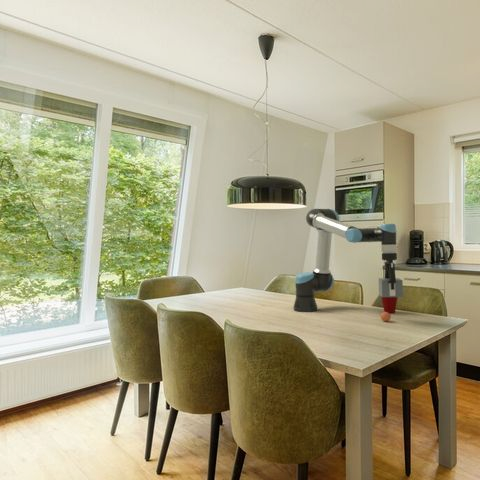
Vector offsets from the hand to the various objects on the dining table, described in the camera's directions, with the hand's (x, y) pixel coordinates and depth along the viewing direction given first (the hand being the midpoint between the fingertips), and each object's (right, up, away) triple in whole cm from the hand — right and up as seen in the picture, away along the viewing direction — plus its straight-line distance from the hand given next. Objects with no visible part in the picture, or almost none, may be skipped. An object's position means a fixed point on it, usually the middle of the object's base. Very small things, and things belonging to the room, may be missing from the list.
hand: (390, 294), depth 199 cm
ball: (-3, -12, 0) cm, 12 cm away
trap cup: (0, -1, 0) cm, 1 cm away
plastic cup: (+9, -15, +24) cm, 29 cm away
